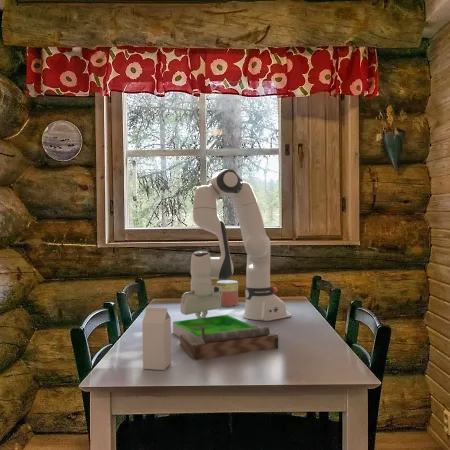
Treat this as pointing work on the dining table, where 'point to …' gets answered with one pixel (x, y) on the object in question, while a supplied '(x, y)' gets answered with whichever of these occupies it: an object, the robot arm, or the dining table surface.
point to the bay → (230, 342)
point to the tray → (208, 326)
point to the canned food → (228, 292)
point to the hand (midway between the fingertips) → (201, 321)
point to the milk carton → (156, 338)
